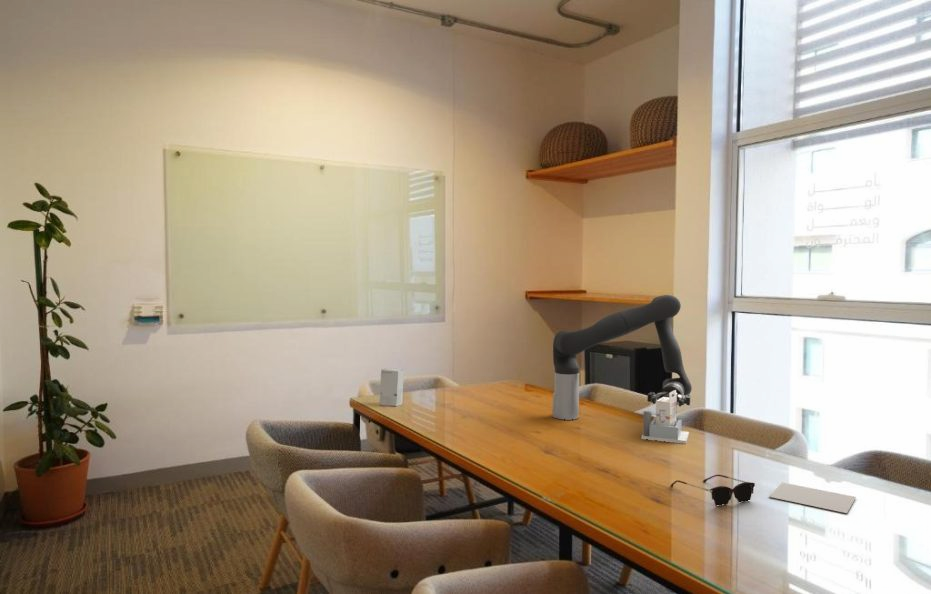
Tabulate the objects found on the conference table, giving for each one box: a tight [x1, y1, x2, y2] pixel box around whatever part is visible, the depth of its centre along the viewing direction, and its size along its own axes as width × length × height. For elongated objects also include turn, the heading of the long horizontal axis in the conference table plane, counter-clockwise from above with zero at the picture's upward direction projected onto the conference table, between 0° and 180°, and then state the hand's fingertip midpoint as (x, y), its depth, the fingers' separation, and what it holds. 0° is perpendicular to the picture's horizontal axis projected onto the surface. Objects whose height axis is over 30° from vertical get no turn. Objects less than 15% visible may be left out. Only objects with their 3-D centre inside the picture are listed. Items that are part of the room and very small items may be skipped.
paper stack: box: [768, 482, 856, 514], centre depth 156 cm, size 23×25×1 cm
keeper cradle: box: [641, 410, 690, 445], centre depth 213 cm, size 14×13×9 cm
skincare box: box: [379, 367, 405, 407], centre depth 262 cm, size 8×6×15 cm
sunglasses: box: [670, 474, 756, 507], centre depth 158 cm, size 14×16×5 cm
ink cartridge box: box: [655, 390, 678, 427], centre depth 214 cm, size 9×5×15 cm, turn 147°
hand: (666, 402), depth 215 cm, fingers open, 8 cm apart
